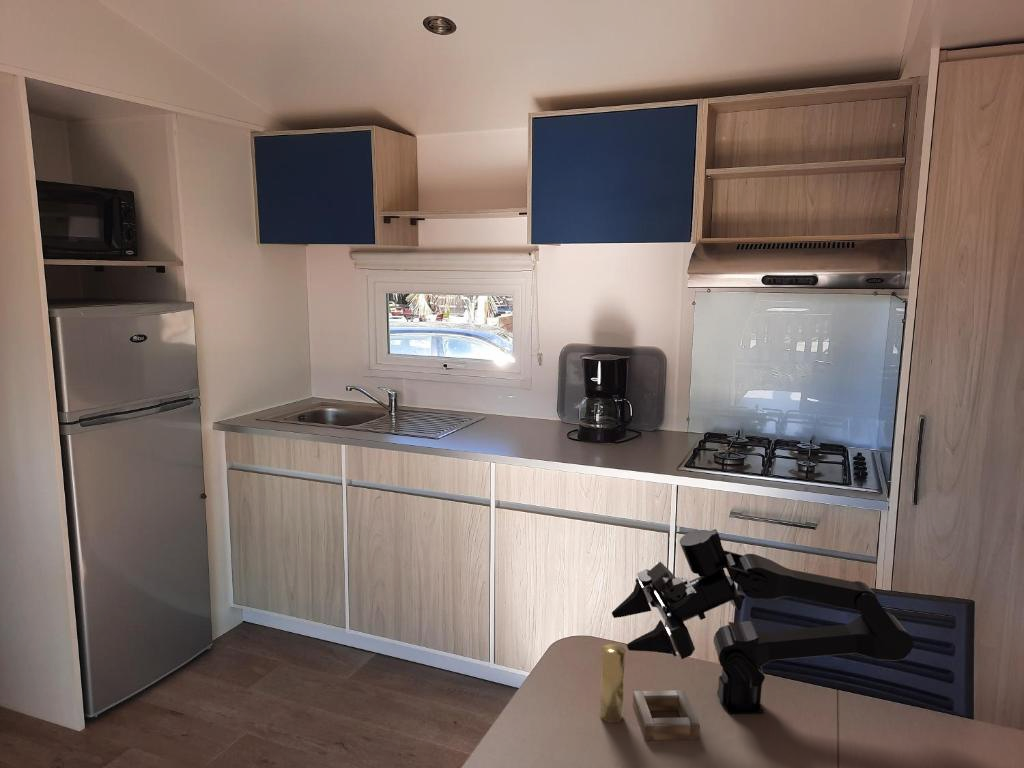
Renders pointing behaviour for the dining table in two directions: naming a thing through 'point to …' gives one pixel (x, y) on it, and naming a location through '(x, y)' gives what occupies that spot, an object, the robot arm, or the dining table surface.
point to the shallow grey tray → (665, 727)
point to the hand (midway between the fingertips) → (619, 630)
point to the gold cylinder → (612, 683)
